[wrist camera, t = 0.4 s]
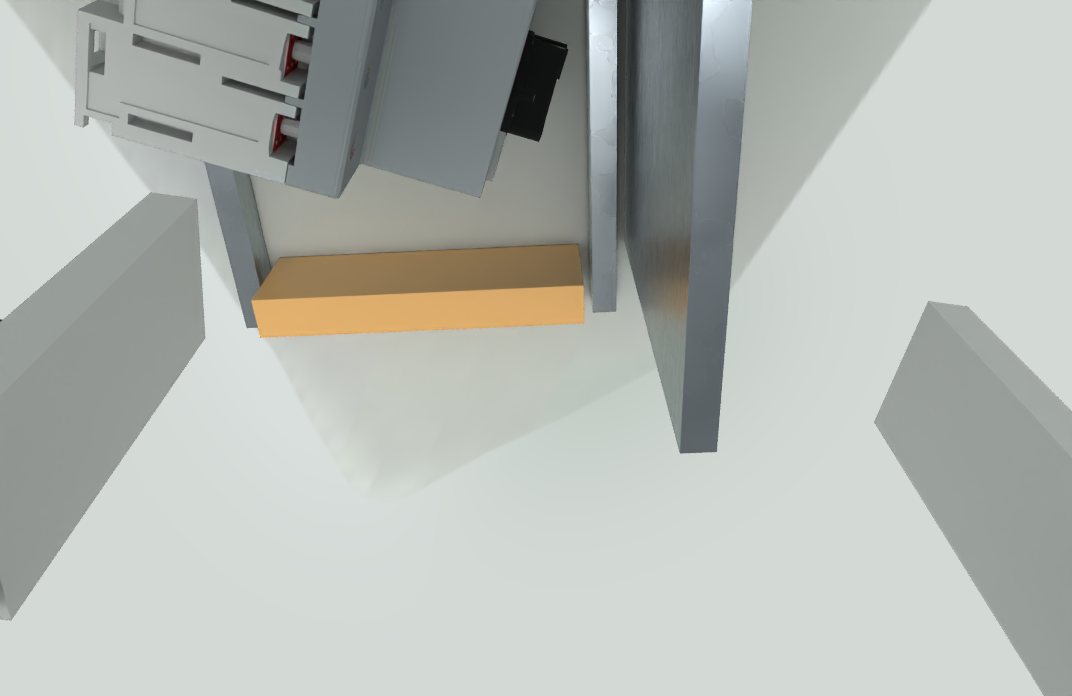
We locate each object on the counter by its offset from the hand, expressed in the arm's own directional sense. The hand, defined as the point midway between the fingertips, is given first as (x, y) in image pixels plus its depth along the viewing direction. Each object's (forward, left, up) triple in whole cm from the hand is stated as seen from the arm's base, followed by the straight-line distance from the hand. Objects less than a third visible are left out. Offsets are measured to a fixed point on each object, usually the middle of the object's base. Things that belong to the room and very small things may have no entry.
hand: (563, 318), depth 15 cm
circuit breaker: (-2, -6, -27) cm, 27 cm away
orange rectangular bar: (+11, -6, -26) cm, 29 cm away
